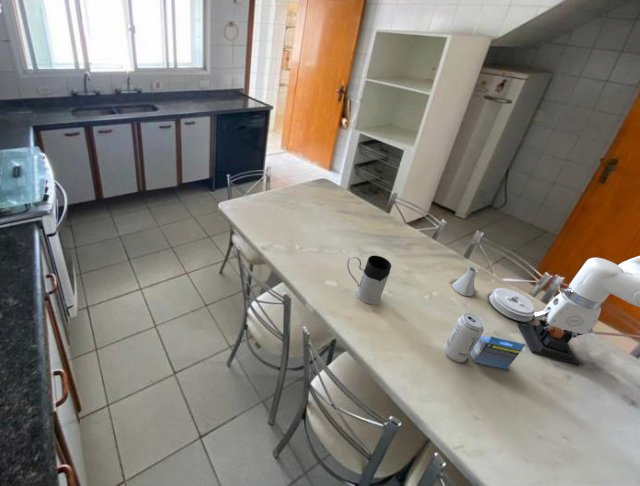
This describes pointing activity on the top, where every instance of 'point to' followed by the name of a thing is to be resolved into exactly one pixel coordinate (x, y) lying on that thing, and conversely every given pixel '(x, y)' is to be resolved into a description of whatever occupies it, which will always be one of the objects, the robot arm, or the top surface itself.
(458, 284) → the flask
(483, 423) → the top surface
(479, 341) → the label tape box
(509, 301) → the lid
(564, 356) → the black shallow tray
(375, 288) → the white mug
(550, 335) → the black and orange block
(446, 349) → the energy drink can
